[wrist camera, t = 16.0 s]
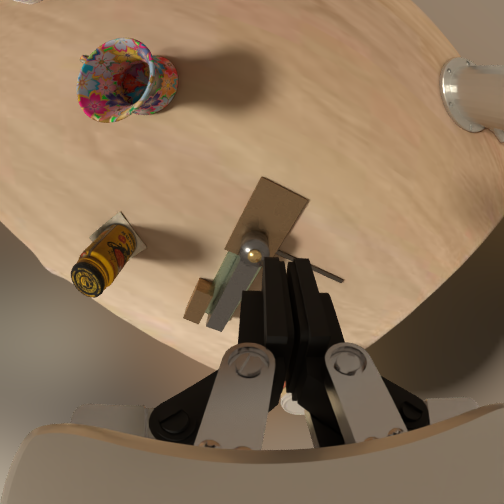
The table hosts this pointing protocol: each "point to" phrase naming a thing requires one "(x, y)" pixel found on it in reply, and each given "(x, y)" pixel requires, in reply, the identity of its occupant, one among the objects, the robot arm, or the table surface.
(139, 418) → the robot arm
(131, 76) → the mug
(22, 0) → the paper bowls
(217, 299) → the swing bar
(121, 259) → the condiment
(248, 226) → the plate
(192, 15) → the table surface
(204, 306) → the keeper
